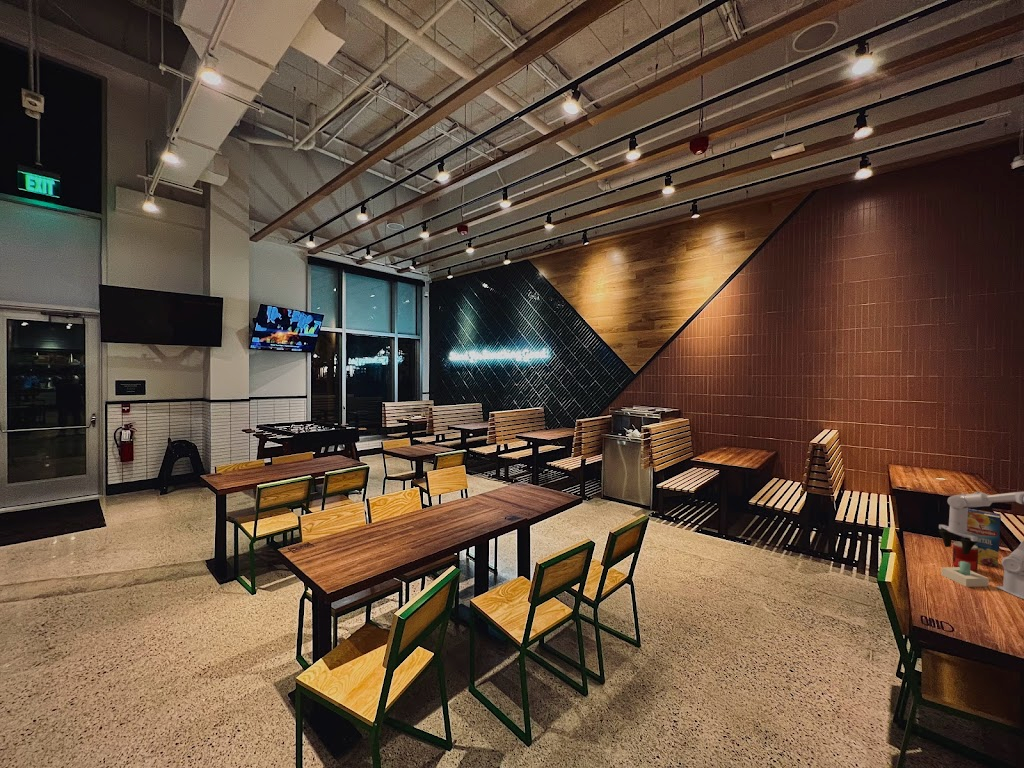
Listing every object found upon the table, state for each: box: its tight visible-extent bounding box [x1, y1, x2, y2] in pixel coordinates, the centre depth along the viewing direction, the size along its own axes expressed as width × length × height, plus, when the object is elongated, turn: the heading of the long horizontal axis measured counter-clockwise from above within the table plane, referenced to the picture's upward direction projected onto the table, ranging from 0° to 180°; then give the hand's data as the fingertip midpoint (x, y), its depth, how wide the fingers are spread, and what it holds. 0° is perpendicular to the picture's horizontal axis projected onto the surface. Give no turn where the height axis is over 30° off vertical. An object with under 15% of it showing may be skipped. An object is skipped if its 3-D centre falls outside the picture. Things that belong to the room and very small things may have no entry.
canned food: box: [952, 541, 979, 572], centre depth 197 cm, size 8×8×11 cm
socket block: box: [940, 566, 990, 588], centre depth 186 cm, size 10×10×4 cm
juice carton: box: [961, 508, 1002, 569], centre depth 203 cm, size 12×8×24 cm, turn 42°
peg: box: [959, 561, 971, 576], centre depth 186 cm, size 3×3×8 cm
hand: (956, 550), depth 193 cm, fingers open, 7 cm apart
